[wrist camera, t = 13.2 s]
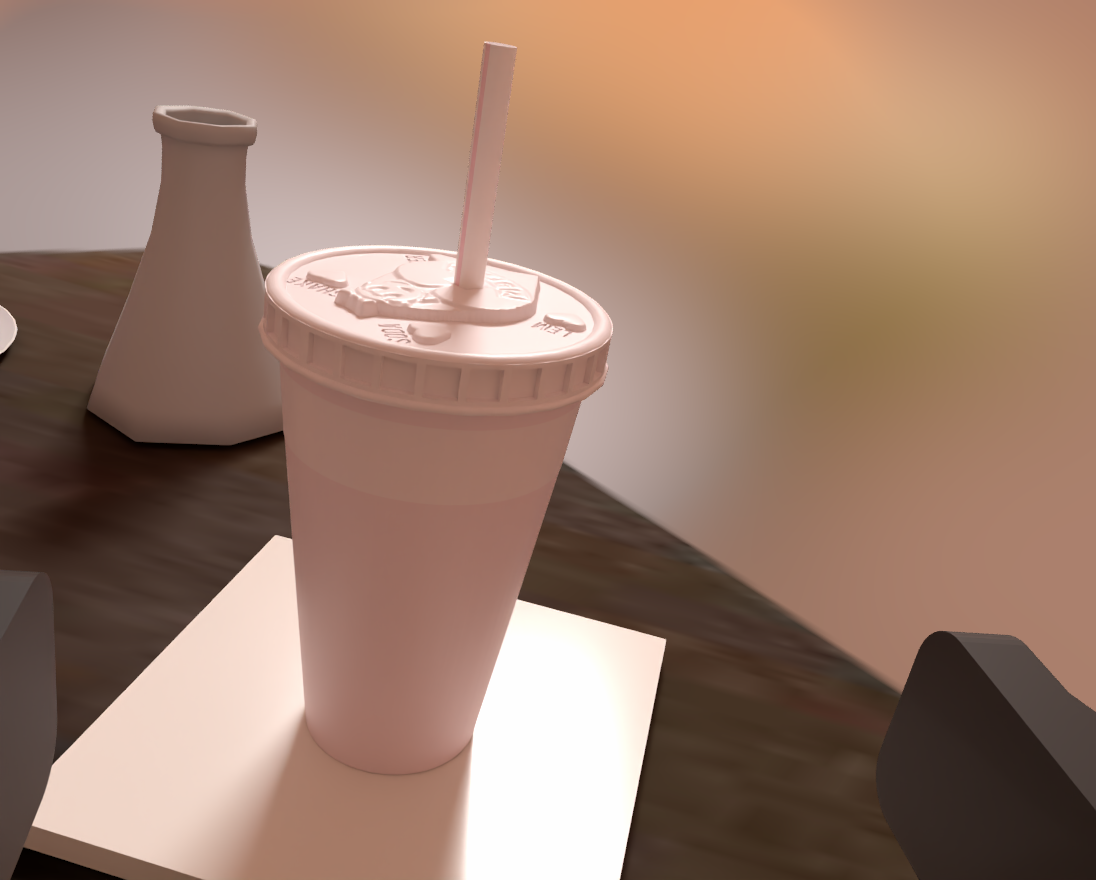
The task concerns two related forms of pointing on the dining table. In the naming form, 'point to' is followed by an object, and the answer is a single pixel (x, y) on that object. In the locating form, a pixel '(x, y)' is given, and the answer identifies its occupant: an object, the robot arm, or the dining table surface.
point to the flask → (194, 300)
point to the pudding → (6, 329)
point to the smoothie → (421, 461)
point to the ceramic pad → (340, 790)
